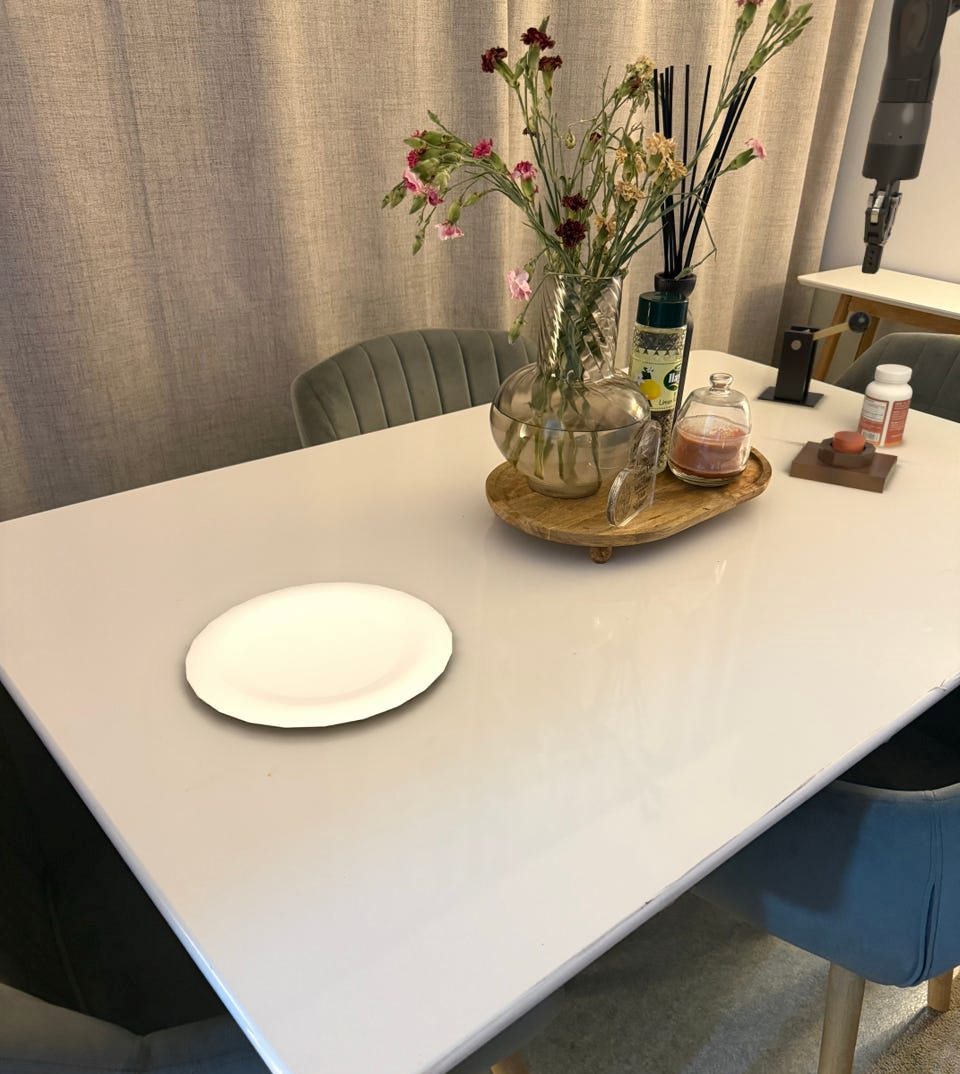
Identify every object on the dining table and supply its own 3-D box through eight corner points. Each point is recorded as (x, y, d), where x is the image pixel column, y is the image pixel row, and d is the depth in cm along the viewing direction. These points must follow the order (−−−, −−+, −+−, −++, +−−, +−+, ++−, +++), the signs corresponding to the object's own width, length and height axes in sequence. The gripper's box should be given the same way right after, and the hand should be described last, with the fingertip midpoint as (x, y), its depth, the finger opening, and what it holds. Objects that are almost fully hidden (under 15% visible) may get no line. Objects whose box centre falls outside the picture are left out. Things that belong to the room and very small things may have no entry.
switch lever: (874, 326, 140) (869, 305, 139) (870, 331, 138) (865, 310, 137) (797, 350, 148) (791, 331, 147) (792, 355, 145) (786, 336, 144)
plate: (385, 768, 74) (384, 751, 73) (130, 706, 81) (125, 690, 80) (490, 617, 94) (489, 603, 93) (276, 578, 101) (274, 565, 100)
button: (865, 446, 124) (868, 433, 123) (859, 456, 121) (862, 443, 120) (835, 441, 125) (837, 429, 124) (828, 450, 122) (831, 438, 121)
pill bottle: (895, 438, 136) (913, 363, 130) (903, 453, 131) (922, 375, 125) (851, 435, 137) (867, 361, 131) (858, 450, 132) (875, 373, 126)
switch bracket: (822, 401, 151) (837, 327, 145) (812, 413, 146) (826, 337, 140) (768, 393, 155) (779, 321, 149) (756, 404, 150) (768, 330, 144)
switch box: (894, 471, 126) (901, 443, 123) (882, 494, 119) (889, 465, 117) (805, 455, 131) (810, 428, 129) (788, 476, 124) (794, 448, 122)
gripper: (918, 144, 120) (888, 283, 129) (933, 137, 130) (904, 267, 139) (859, 142, 123) (833, 278, 133) (877, 135, 133) (852, 263, 142)
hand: (869, 272), depth 136 cm, fingers closed
